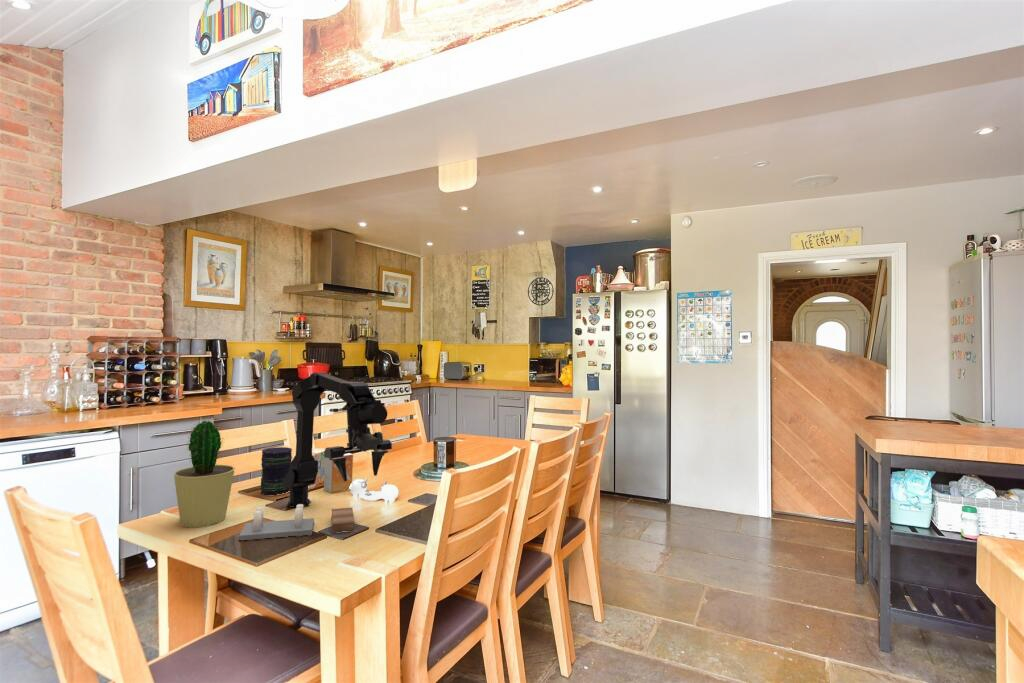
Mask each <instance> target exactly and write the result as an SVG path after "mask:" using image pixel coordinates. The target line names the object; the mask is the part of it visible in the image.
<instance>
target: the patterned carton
mask: <svg viewBox="0 0 1024 683" xmlns="http://www.w3.org/2000/svg"><path fill="white" fill-rule="evenodd" d="M325 449H326V448H320V447H319V448H318V447H317V448H312V456H313V457H314V459H315V460H317V461H318V473H317V476H316V480H315V484H316V483H319V482H321V481H323V480H324V473H325V458H324V451H325ZM311 485H314V484H310V485H308V486H311Z"/></svg>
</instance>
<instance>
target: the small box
mask: <svg viewBox="0 0 1024 683" xmlns="http://www.w3.org/2000/svg"><path fill="white" fill-rule="evenodd" d="M344 457H345V458H346V462H345V465H346V473H347V481H344V480H343V478H342V476H341V474H340V472H339V470H338V468H337V466H336V465H335V463H334V462H333V460H329V458H325V473H324V483H323V490H324V491H326V492H327V493H330V494H334V493H340V492H344V490H346V491H349V490H348V489H349V486H350V484H351V483H352V484H353V473H354V472H353V468H354V466H353V464H354V453H347V454H344ZM339 491H340V492H339Z"/></svg>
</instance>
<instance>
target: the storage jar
mask: <svg viewBox="0 0 1024 683" xmlns="http://www.w3.org/2000/svg"><path fill="white" fill-rule="evenodd" d="M292 451H293V449H292V448H291V447H285V446H283V447H282V446H280V447H277V446H276V447H269V448H264V449H262V450H261V458H260V459H261V461H260V462H261V477H260V490H261V491H260V495H261V494H264V495H277V494H282V493H286V492H288V491H290V489H289V488H286V487H283V479H284V478H285V476H286V475H287V473H288V472H289V468H290V463H291V461H292V460H293V456H292ZM264 495H263V496H264Z"/></svg>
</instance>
